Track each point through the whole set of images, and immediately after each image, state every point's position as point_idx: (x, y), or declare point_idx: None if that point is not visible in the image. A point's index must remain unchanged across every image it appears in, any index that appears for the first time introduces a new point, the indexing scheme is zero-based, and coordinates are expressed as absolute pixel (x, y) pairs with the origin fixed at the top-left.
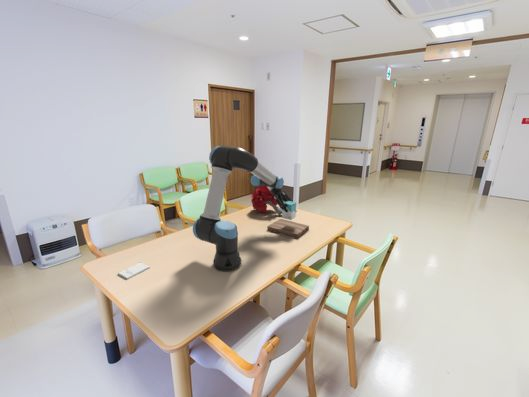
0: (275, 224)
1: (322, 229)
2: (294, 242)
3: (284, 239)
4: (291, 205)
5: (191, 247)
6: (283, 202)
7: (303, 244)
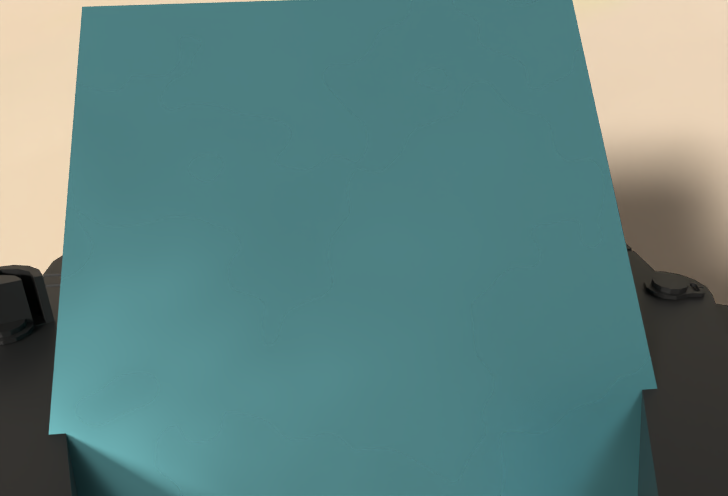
0: None
1: (25, 18)
2: (636, 112)
3: (667, 253)
4: (561, 8)
5: None
6: (687, 433)
7: (598, 13)
